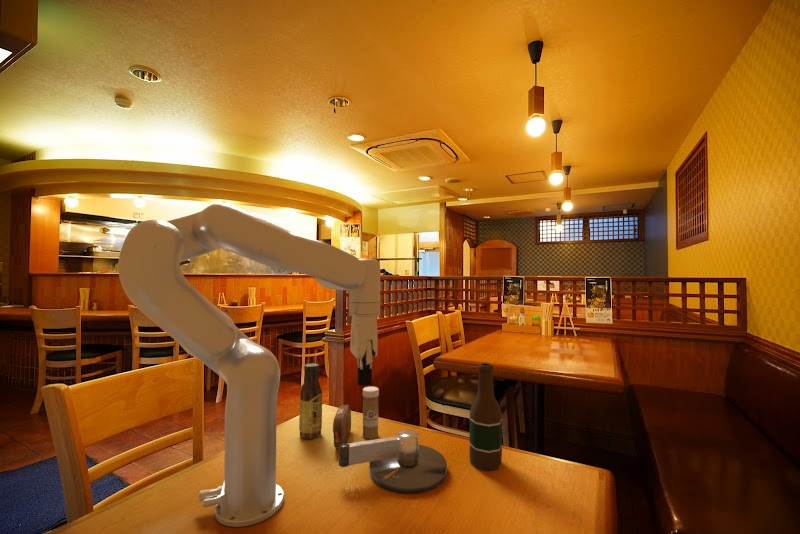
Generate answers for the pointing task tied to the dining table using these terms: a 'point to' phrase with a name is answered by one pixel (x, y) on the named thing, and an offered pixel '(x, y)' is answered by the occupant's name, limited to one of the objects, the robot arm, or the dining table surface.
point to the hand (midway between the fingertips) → (364, 384)
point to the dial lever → (382, 450)
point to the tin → (342, 425)
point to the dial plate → (410, 473)
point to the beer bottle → (485, 424)
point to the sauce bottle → (310, 404)
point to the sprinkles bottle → (370, 412)
